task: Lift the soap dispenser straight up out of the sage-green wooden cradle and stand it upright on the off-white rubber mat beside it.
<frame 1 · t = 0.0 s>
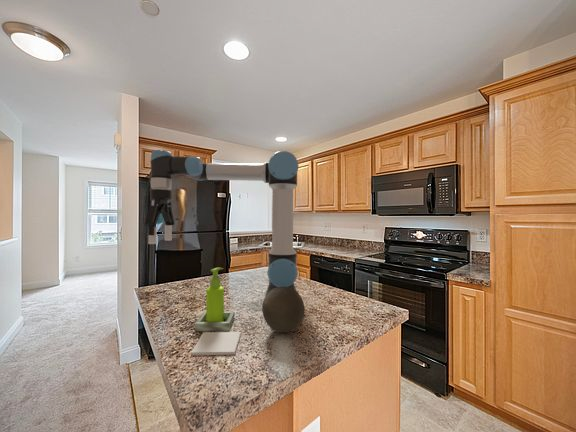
hand: (160, 242, 101), 28 cm above the counter, tool pointing down, fingers open, 13 cm apart
cradle: (215, 324, 90), on the counter
mat: (218, 343, 76), on the counter
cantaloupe: (283, 332, 84), on the counter
soap dispenser: (215, 324, 90), resting in cradle
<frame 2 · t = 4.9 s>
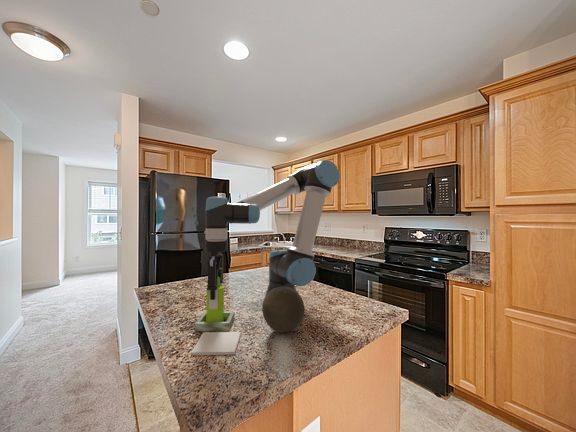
hand: (215, 304, 89), 7 cm above the counter, tool pointing down, fingers closed on soap dispenser, 6 cm apart
soap dispenser: (215, 324, 90), resting in cradle, touching gripper
everything else where it was.
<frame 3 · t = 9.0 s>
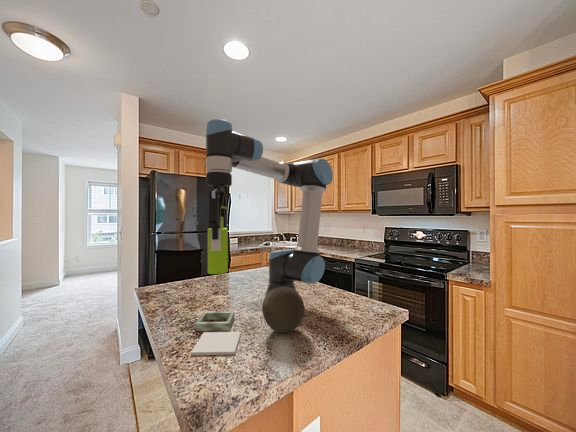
hand: (218, 249, 76), 29 cm above the counter, tool pointing down, fingers closed on soap dispenser, 6 cm apart
soap dispenser: (218, 272, 76), point 22 cm above the counter, touching gripper
everything else where it was.
when the fingers open (9 cm above the counter, at t = 13.4 s): soap dispenser drops 1 cm, resting on mat.
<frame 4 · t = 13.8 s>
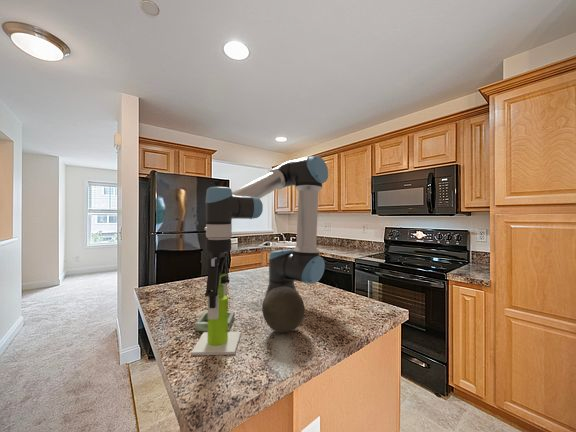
hand: (218, 310, 76), 10 cm above the counter, tool pointing down, fingers open, 11 cm apart
soap dispenser: (218, 340, 77), point 1 cm above the counter, touching mat
everything else where it was.
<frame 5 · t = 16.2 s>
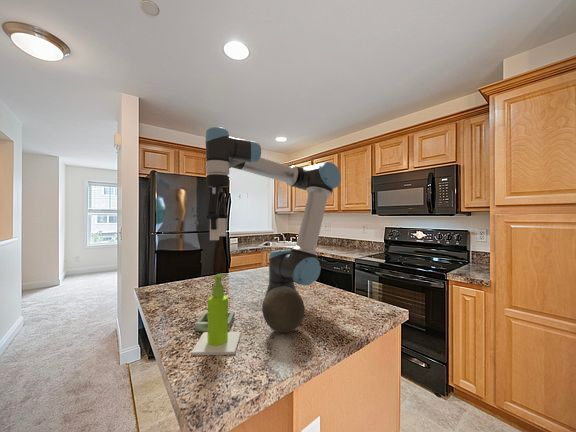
hand: (218, 238, 85), 31 cm above the counter, tool pointing down, fingers open, 13 cm apart
nothing on the counter moved.
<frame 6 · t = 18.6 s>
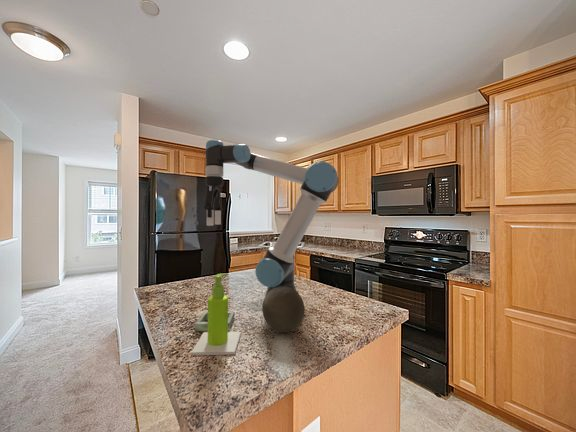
hand: (214, 225, 110), 35 cm above the counter, tool pointing down, fingers open, 13 cm apart
nothing on the counter moved.
at the end: soap dispenser inside the target area on the mat (0.7 cm from its centre), point 0.6 cm above the mat's base; soap dispenser tilted 0°; soap dispenser touching mat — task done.
